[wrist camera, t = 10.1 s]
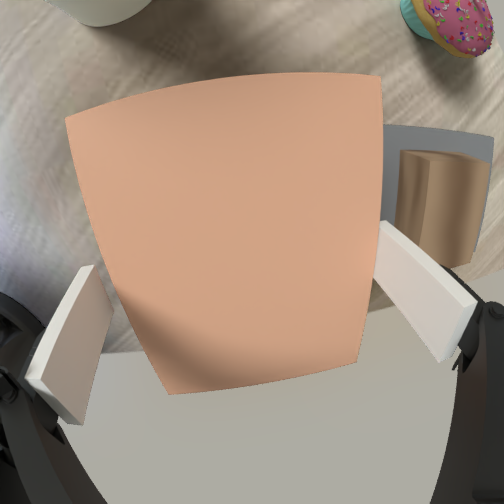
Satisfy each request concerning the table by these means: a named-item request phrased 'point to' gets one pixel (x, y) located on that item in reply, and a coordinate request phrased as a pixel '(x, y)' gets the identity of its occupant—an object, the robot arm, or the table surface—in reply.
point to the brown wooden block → (441, 203)
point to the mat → (425, 140)
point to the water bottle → (100, 10)
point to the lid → (238, 221)
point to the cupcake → (451, 24)
